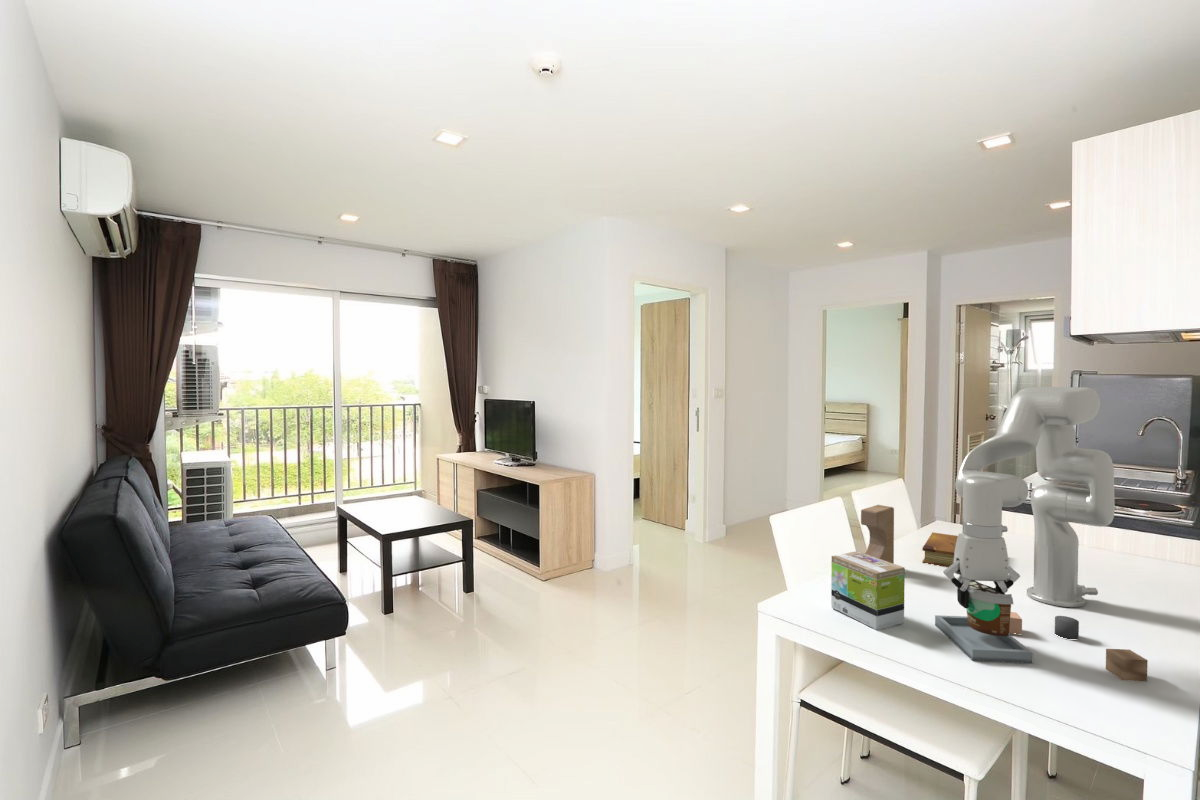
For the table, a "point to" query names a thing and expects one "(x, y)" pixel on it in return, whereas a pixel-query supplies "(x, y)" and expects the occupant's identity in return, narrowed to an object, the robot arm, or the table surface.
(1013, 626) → the terracotta block
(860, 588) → the tea box
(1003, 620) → the food container
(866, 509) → the decorative block
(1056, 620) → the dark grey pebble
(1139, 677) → the walnut cube
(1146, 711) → the table surface
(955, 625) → the tray
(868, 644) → the table surface
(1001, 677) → the table surface
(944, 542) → the diary
